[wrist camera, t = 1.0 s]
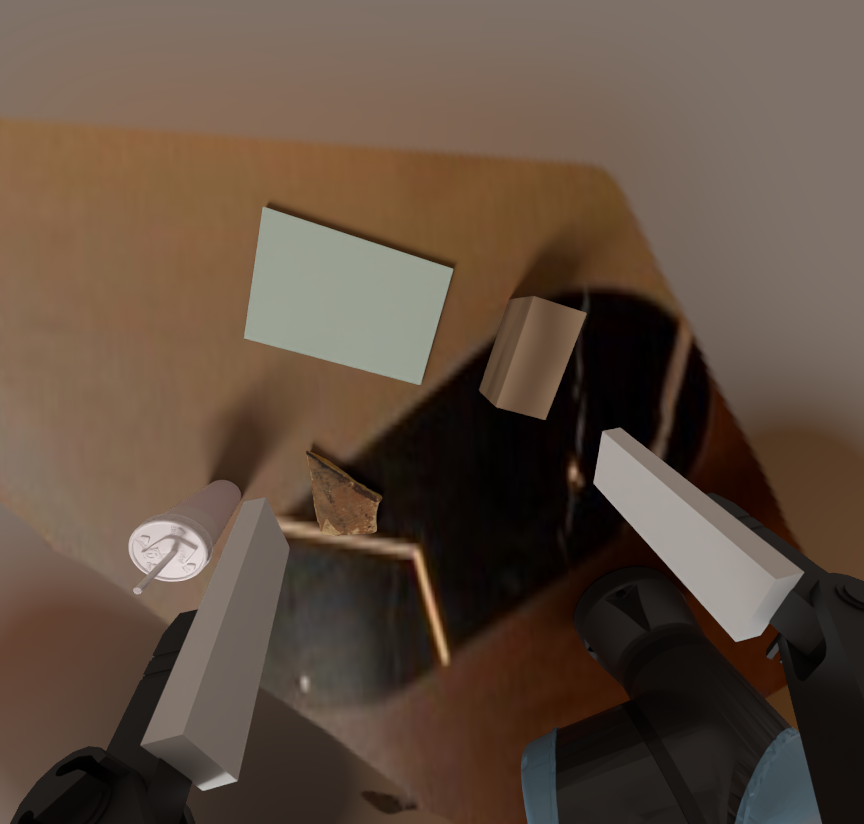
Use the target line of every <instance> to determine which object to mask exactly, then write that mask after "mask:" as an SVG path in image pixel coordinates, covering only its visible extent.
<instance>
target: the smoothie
mask: <svg viewBox="0 0 864 824" xmlns="http://www.w3.org/2000/svg"><path fill="white" fill-rule="evenodd" d="M240 500H241V492H240V490H239V488H238V487H237V486H236V485H235V484H234V483H232V482H230V481H227V480H217V481H214V482H212V483H211V484H209V485H207V486H206V487H204V488H203V489H201V490H200V491H198V492H196V493H195V494H193V495H192V496H190V497H188V498H187V499H185V500H184V501H182V502H181V503H179V504H177V505H176V506H174V507H173V508H171V509H169V510H168V511H166V512H165V513H163V514H160V515H155V516H153V517H151V518H149V519H147V520H145V521H144V522H143V523H142V524H141V525H140V526H139V527H138V528H137V529H136V530H135V531H134V532H133V534H132V535H131V537H130V540H129V553H130V556H131V558H132V560H133V562H134V563H135V565H136V566H137V567H138V568H139V569H140V570H141V571H143V572H144V573H146V574H147V576H146V577H145V578H144V579H143V580H142V581H141V582H140V583H139V584H138V585H137V586H136V587H135V588H134V589H133V591H134V593H136V594H140V593H141V592H142V591H143V590H144V589H145V588H146V587H147V586H148V585H149V584H150V582H151V581H152V580H153V579H154V578H156V579H159V580H163V581H183V580H187V579H189V578H192V577H194V576H195V575H197V574H198V573H199V572H200V571H201V570H202V569H203V568H204V567H205V566H206V565H207V564H208V562H209V561H210V559H211V557H212V553H213V547H214V546H215V544H216V542H217V540H218V538H219V537H220V535H221V533H222V531H223V530H224V528H225V526H226V525H227V523H228V521H229V519H230V518H231V516H232V514H233V512H234V511H235V509H236V507H237V505H238V504H239V502H240Z"/></svg>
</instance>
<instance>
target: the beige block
mask: <svg viewBox="0 0 864 824" xmlns="http://www.w3.org/2000/svg"><path fill="white" fill-rule="evenodd" d="M586 314H587V313H585V312H582V311H579V310H575V309H572V308H569V307H566V306H563V305H560V304H557V303H554V302H551V301H548V300H545V299H542V298H539V297H536V296H530V297H522V298H514V299H509V301H508V304H507V307H506V310H505V313H504V316H503V319H502V322H501V325H500V329H499V332H498V335H497V338H496V341H495V344H494V347H493V350H492V353H491V356H490V359H489V362H488V365H487V368H486V371H485V374H484V377H483V380H482V383H481V386H480V389H479V391H480V392H481V393H482V394H483V395H484V396H485V397H486V398H487V399H488V400H489V401H490V402H491V403H492V404H493V405H494V406H495V407H498V408H502V409H506V410H509V411H513V412H517V413H521V414H525V415H528V416H532V417H536V418H540V419H543V420H545V419H546V417H547V414H548V412H549V409H550V407H551V404H552V401H553V399H554V396H555V394H556V391H557V388H558V386H559V383H560V381H561V378H562V376H563V373H564V370H565V368H566V365H567V363H568V360H569V358H570V355H571V352H572V350H573V347H574V345H575V342H576V340H577V337H578V334H579V332H580V329H581V327H582V324H583V321H584V319H585V316H586Z"/></svg>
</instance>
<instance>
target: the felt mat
mask: <svg viewBox="0 0 864 824" xmlns="http://www.w3.org/2000/svg"><path fill="white" fill-rule="evenodd" d="M452 272H453V269H452V268H449V267H446V266H443V265H440V264H437V263H434V262H431V261H428V260H425V259H422V258H419V257H416V256H412V255H409V254H406V253H403V252H400V251H397V250H394V249H391V248H388V247H385V246H382V245H379V244H376V243H373V242H370V241H367V240H364V239H361V238H358V237H354V236H351V235H348V234H345V233H342V232H339V231H336V230H333V229H330V228H327V227H324V226H321V225H318V224H315V223H312V222H309V221H306V220H303V219H300V218H297V217H293V216H290V215H287V214H284V213H281V212H278V211H275V210H272V209H269V208H266V207H263V210H262V217H261V224H260V231H259V238H258V245H257V252H256V259H255V266H254V272H253V279H252V286H251V293H250V300H249V307H248V314H247V321H246V328H245V335H244V338H245V339H249V340H252V341H256V342H260V343H264V344H268V345H271V346H275V347H279V348H283V349H286V350H290V351H294V352H298V353H301V354H305V355H309V356H313V357H316V358H320V359H324V360H328V361H331V362H335V363H339V364H343V365H347V366H350V367H354V368H358V369H362V370H365V371H369V372H373V373H377V374H380V375H384V376H388V377H392V378H395V379H399V380H403V381H407V382H411V383H414V384H418V385H421V382H422V378H423V375H424V371H425V368H426V364H427V361H428V357H429V354H430V350H431V346H432V343H433V339H434V336H435V332H436V329H437V325H438V322H439V318H440V315H441V311H442V308H443V304H444V301H445V297H446V294H447V290H448V286H449V283H450V279H451V276H452Z"/></svg>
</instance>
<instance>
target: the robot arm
mask: <svg viewBox="0 0 864 824" xmlns="http://www.w3.org/2000/svg"><path fill="white" fill-rule="evenodd" d="M594 484H595V485H596V487H597V488H598V489H599V490H600V491H601V492H602V493H603V494H604V496H605V497H606V498H607V499H608V500H609V501H610V502H611V503H612V504H613V506H614V507H615V508H616V509H617V510H618V511H619V512H620V513H621V514H622V516H623V517H624V518H625V519H626V520H627V521H628V522H629V523H630V524H631V526H632V527H633V528H634V529H635V530H636V531H637V532H638V533H639V535H640V536H641V537H642V538H643V539H644V540H645V541H646V542H647V543H648V545H649V546H650V547H651V548H652V549H653V550H654V551H655V552H656V553H657V555H658V556H659V557H660V558H661V559H662V560H663V561H664V562H665V563H666V565H667V566H668V567H669V568H670V569H671V570H672V571H673V572H674V574H675V575H676V576H677V577H678V578H679V579H680V580H681V581H682V582H683V584H684V585H685V586H686V587H687V588H688V589H689V590H690V591H691V592H692V594H693V595H694V596H695V597H696V598H697V599H698V600H699V601H700V602H701V604H702V605H703V606H704V607H705V608H706V609H707V610H708V611H709V613H710V614H711V615H712V616H713V617H714V618H715V619H716V620H717V621H718V623H719V624H720V625H721V626H722V627H723V628H724V629H725V630H726V631H727V633H728V634H729V635H730V636H731V637H732V638H733V639H734V640H735V641H736V642H738V641H741V640H745V639H749V638H752V637H756V636H759V635H761V634H762V632H763V631H764V629H765V628H766V627H767V625H768V624H769V622H770V623H771V624H772V625H773V626H774V627H775V628H776V629H777V630H778V631H779V633H778V635H777V636H776V638H775V639H774V640H773V642H772V643H771V644H770V646H769V647H768V648H767V651H766V657H767V658H770V659H772V658H773V657H774V655H775V654H776V653H777V651H778V650H779V652H780V656H781V659H780V660H779V662H780V663H782V664H783V668H784V672H785V676H786V680H787V684H788V688H789V692H790V696H791V700H792V704H793V708H794V712H795V716H796V720H797V725H798V729H799V732H798V731H797V730H796V729H795V728H792V727H791V726H790V725H789V723H787V722H786V720H785V719H784V718H783V717H782V716H781V715H780V714H779V713H778V712H777V711H776V710H775V709H774V708H773V707H772V706H771V705H770V704H769V703H768V702H767V700H766V699H765V698H764V697H763V696H762V695H761V694H760V693H759V692H758V691H757V690H756V689H755V688H754V687H753V686H752V685H751V684H750V683H749V682H748V680H747V679H746V678H745V677H744V676H743V675H742V674H741V673H740V672H739V671H738V670H737V669H736V668H735V667H734V666H733V665H732V664H731V663H730V662H729V661H728V660H727V658H726V657H725V656H724V655H723V654H722V653H721V652H720V651H719V650H718V649H717V648H716V647H715V646H714V645H713V644H712V643H711V642H710V641H709V639H708V638H707V637H706V636H705V634H704V632H703V631H702V629H701V627H700V625H699V623H698V621H697V619H696V618H695V616H694V614H693V612H692V611H691V609H690V607H689V606H688V604H687V602H686V599H685V597H684V595H683V594H682V592H681V591H680V590H679V589H678V587H677V586H676V585H675V584H674V583H673V582H671V581H670V580H669V579H668V578H667V577H666V576H665V575H664V574H663V573H661V572H659V571H657V570H655V569H652V568H647V567H628V568H623V569H620V570H616V571H614V572H611V573H609V574H607V575H605V576H603V577H602V578H600V579H599V580H597V581H596V582H595V583H594V584H592V585H591V586H590V587H589V588H588V589H587V590H586V592H585V593H584V594H583V595H582V597H581V598H580V600H579V602H578V604H577V607H576V609H575V614H574V626H575V630H576V632H577V634H578V636H579V638H580V640H581V642H582V644H583V645H584V647H585V649H586V650H587V651H588V653H589V654H590V655H591V656H592V657H593V658H594V659H595V660H597V662H598V663H599V664H600V665H601V666H602V667H603V668H604V669H605V670H606V671H607V672H608V673H609V674H610V675H611V676H612V677H613V678H614V679H615V680H616V681H617V682H618V683H619V684H620V685H621V686H622V687H623V688H624V690H625V691H626V693H627V695H628V696H629V698H630V701H627V702H625V703H622V704H619V705H617V706H614V707H612V708H610V709H607V710H605V711H602V712H600V713H598V714H595V715H593V716H590V717H588V718H586V719H583V720H581V721H578V722H576V723H573V724H571V725H568V726H565V727H563V728H560V729H559V728H558V727H555V728H553V730H552V732H550V733H548V734H546V735H544V736H542V737H540V738H538V739H536V740H534V741H532V742H530V743H529V744H528V745H527V746H526V747H525V749H524V752H523V755H522V761H521V776H522V788H523V796H524V803H525V809H526V815H527V821H528V824H864V581H862V580H859V579H856V578H854V577H851V576H848V575H843V574H838V573H828V572H826V571H825V570H823V569H822V568H820V567H819V566H818V565H816V564H815V563H814V562H812V561H811V560H810V559H808V558H807V557H806V556H804V555H803V554H802V553H800V552H799V551H798V550H796V549H795V548H794V547H792V546H791V545H790V544H788V543H787V542H785V541H784V540H783V539H781V538H780V537H779V536H777V535H776V534H775V533H773V532H772V531H771V530H769V529H768V528H765V527H764V525H763V524H761V523H760V522H759V521H757V520H756V519H755V518H753V517H752V518H751V517H750V515H749V514H748V513H747V512H745V511H744V510H743V509H741V508H740V507H739V506H737V505H736V504H735V503H733V502H731V501H729V500H727V499H725V498H723V497H721V496H719V495H717V494H715V493H708V494H704V493H703V492H702V491H700V490H699V489H698V488H696V487H695V486H694V485H693V484H691V483H690V482H689V481H688V480H686V479H685V478H684V477H682V476H681V475H680V474H679V473H677V472H676V471H675V470H673V469H672V468H671V467H670V466H668V465H667V464H666V463H665V462H663V461H662V460H661V459H659V458H658V457H657V456H656V455H654V454H653V453H652V452H651V451H649V450H648V449H647V448H645V447H644V446H643V445H642V444H640V443H639V442H638V441H636V440H635V439H634V438H633V437H631V436H630V435H629V434H628V433H626V432H625V431H624V430H622V429H621V428H616V429H611V430H606V431H603V432H602V438H601V444H600V449H599V455H598V461H597V466H596V472H595V478H594ZM289 549H290V548H289V546H288V543H287V541H286V539H285V537H284V535H283V533H282V531H281V528H280V526H279V524H278V522H277V520H276V518H275V515H274V513H273V511H272V509H271V507H270V505H269V502H268V500H267V498H266V497H265V498H260V499H254V500H249V501H244V503H243V505H242V508H241V510H240V512H239V515H238V517H237V519H236V522H235V524H234V526H233V529H232V531H231V533H230V536H229V538H228V540H227V543H226V545H225V547H224V550H223V552H222V555H221V557H220V559H219V562H218V564H217V566H216V569H215V571H214V573H213V576H212V578H211V580H210V583H209V585H208V587H207V590H206V592H205V594H204V597H203V599H202V601H201V604H200V606H199V608H198V609H197V610H193V611H188V612H184V613H180V614H179V615H178V616H177V618H176V619H175V620H174V621H173V622H172V624H171V625H170V626H169V627H168V629H167V630H166V631H165V632H164V634H163V635H162V637H161V639H160V641H159V643H158V645H157V648H156V649H155V651H154V654H153V656H152V661H150V662H149V664H148V666H147V668H146V670H145V672H144V674H143V679H142V680H141V681H140V682H139V685H138V686H137V689H136V691H135V693H134V695H133V697H132V699H131V701H130V703H129V705H128V707H127V709H126V711H125V713H124V715H123V717H122V720H121V721H120V724H119V726H118V728H117V730H116V732H115V734H114V736H113V738H112V740H111V742H110V744H109V746H108V748H107V750H106V751H105V750H103V749H102V748H99V747H90V746H88V747H86V748H83V749H80V750H78V751H75V752H73V753H71V754H70V755H68V756H67V757H65V758H64V759H62V760H61V761H59V762H58V763H56V764H55V765H54V766H53V767H52V768H51V769H50V770H49V771H48V772H47V773H46V774H45V775H44V776H43V777H41V778H40V780H38V781H37V782H36V784H35V785H34V787H33V788H32V789H31V790H30V792H29V793H28V794H27V796H26V797H25V798H24V799H23V801H22V802H21V803H20V805H19V807H18V809H17V811H16V813H15V815H14V817H13V819H12V821H11V823H10V824H195V821H194V818H193V816H192V813H191V810H190V809H189V807H188V806H187V805H186V801H187V797H188V794H189V791H190V787H191V784H192V783H193V784H194V785H196V786H197V787H199V788H200V789H201V790H203V791H204V790H207V789H211V788H214V787H218V786H222V785H225V784H229V783H232V782H236V781H238V777H239V772H240V768H241V763H242V758H243V754H244V750H245V745H246V741H247V736H248V732H249V727H250V723H251V718H252V714H253V709H254V705H255V701H256V696H257V691H258V687H259V683H260V678H261V674H262V669H263V665H264V660H265V656H266V651H267V647H268V642H269V638H270V634H271V629H272V625H273V620H274V616H275V611H276V607H277V602H278V598H279V593H280V589H281V584H282V580H283V575H284V571H285V566H286V562H287V558H288V553H289Z"/></svg>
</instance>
